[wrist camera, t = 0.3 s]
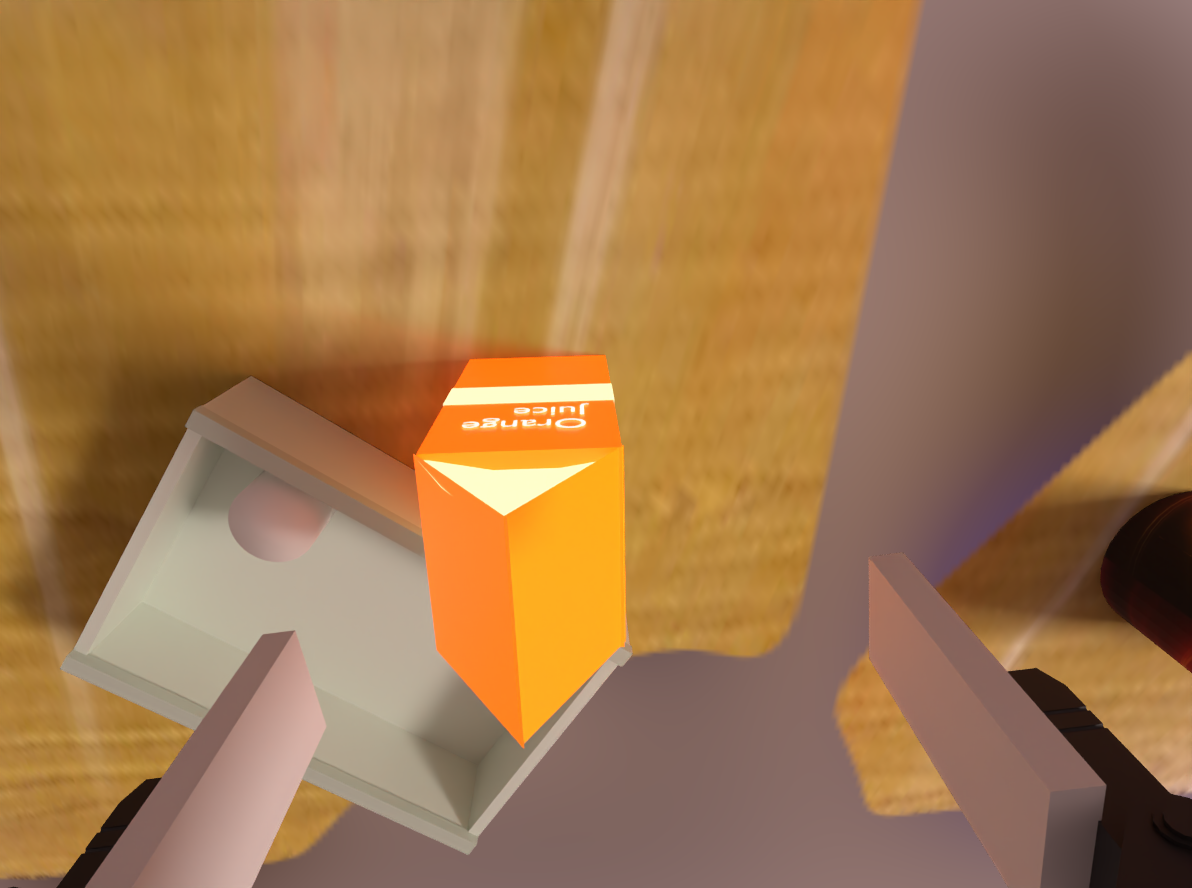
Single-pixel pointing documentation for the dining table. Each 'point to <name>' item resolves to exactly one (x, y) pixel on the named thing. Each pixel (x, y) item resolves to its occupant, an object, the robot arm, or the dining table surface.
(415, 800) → the tote
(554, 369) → the orange juice
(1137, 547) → the mug
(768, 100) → the dining table surface
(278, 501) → the pink rounded egg
